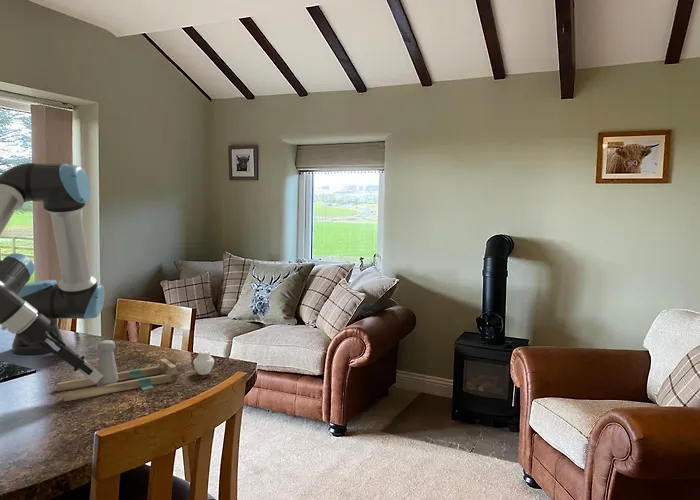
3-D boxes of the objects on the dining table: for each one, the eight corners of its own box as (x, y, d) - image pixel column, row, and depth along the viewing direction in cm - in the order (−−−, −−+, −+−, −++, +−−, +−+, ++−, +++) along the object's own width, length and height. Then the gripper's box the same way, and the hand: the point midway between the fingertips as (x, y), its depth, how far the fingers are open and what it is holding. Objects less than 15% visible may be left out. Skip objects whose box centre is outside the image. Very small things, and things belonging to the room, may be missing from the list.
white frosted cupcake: (216, 374, 156) (216, 352, 155) (195, 377, 153) (196, 354, 152) (211, 368, 161) (211, 346, 161) (191, 371, 158) (191, 349, 158)
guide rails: (55, 386, 142) (54, 372, 142) (161, 368, 160) (161, 355, 160) (66, 405, 129) (66, 389, 129) (180, 383, 148) (180, 369, 147)
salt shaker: (109, 392, 139) (108, 344, 138) (90, 390, 140) (89, 343, 139) (122, 384, 145) (122, 339, 144) (104, 382, 146) (103, 337, 145)
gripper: (11, 329, 132) (83, 383, 143) (16, 340, 121) (93, 397, 133) (35, 307, 135) (104, 362, 146) (43, 316, 124) (116, 374, 136)
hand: (99, 378), depth 139 cm, fingers closed
